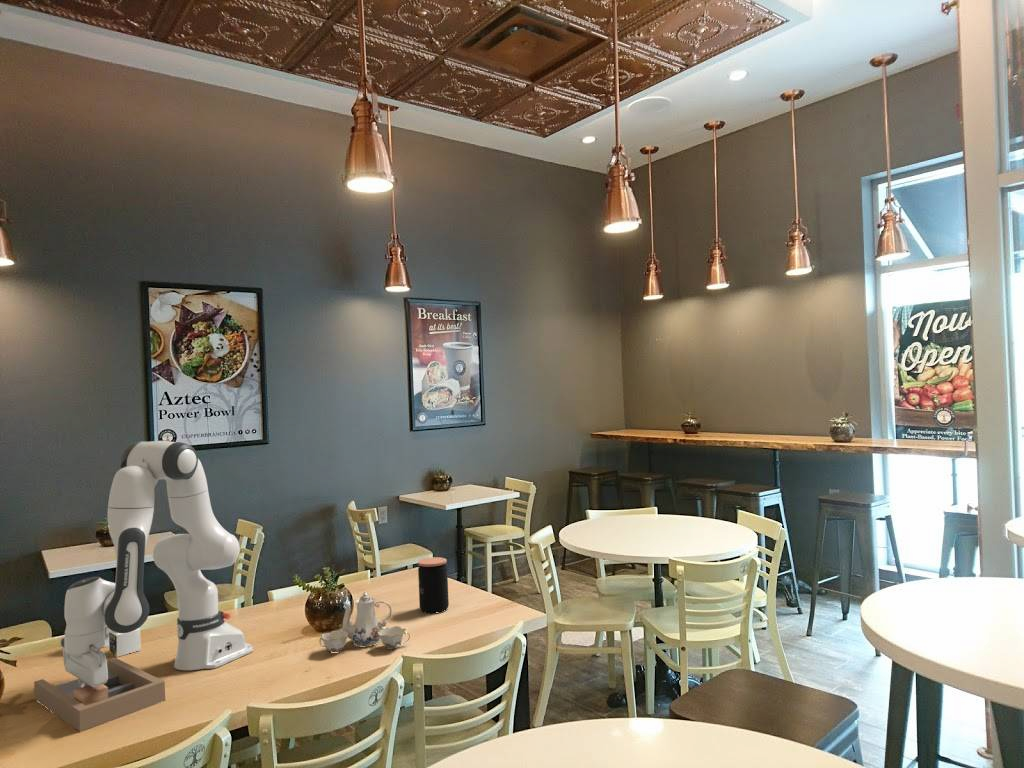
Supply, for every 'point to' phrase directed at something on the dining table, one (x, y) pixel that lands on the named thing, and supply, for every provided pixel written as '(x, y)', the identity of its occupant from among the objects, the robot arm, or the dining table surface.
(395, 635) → the chinaware
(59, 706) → the box
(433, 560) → the coffee jar
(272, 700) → the dining table surface
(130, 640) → the medicine bottle
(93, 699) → the terracotta block
